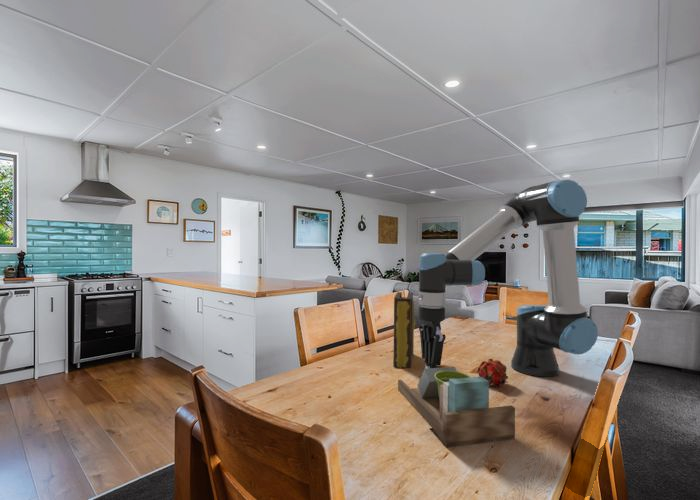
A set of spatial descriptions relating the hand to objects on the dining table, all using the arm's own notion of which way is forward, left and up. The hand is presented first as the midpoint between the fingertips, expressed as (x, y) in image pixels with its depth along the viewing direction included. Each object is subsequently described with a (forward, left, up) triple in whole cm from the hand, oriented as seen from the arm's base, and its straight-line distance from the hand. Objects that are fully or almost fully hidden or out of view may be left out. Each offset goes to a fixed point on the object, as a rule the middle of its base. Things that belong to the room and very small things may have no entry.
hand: (430, 386), depth 103 cm
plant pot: (0, +12, -2) cm, 12 cm away
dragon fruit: (-23, -3, -3) cm, 23 cm away
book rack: (0, +11, -3) cm, 12 cm away
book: (-5, -33, -3) cm, 34 cm away
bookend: (0, +2, 0) cm, 2 cm away
